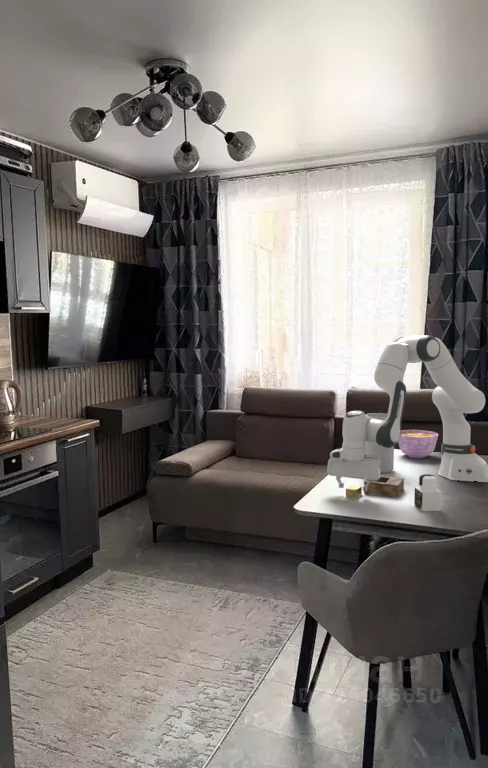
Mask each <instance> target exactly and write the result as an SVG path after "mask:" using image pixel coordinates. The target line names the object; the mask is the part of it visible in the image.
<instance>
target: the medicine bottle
mask: <svg viewBox="0 0 488 768" xmlns="http://www.w3.org/2000/svg"><path fill="white" fill-rule="evenodd" d="M418 480H419V481H418V482H419V483H418V486H415V487H414V500H413V501H414V507H416V508H417V509H418V510H419V511H420V512H423V513H424V512H426V513H427V512H441V511H442V491H441V490H440V489H439V488H438V477H437V476H436V475H435V474H434V475H433V474H421V475H419V479H418Z"/></svg>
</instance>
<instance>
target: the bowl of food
mask: <svg viewBox="0 0 488 768" xmlns="http://www.w3.org/2000/svg"><path fill="white" fill-rule="evenodd" d="M438 438H439V433H437V432H435V431H431V430H430V431H429V430H423V429H422V430H421V429H404V430H403V429H401V437H400V440H399V442H398V443H397V444H398V446H399V449H400V452H401V453H403V454H404V455H407V456H408V458H413V459H424V458H426V457H428V456H430V455H431V454H433V452H434V450H435V448H436V444H437V441H438Z"/></svg>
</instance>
